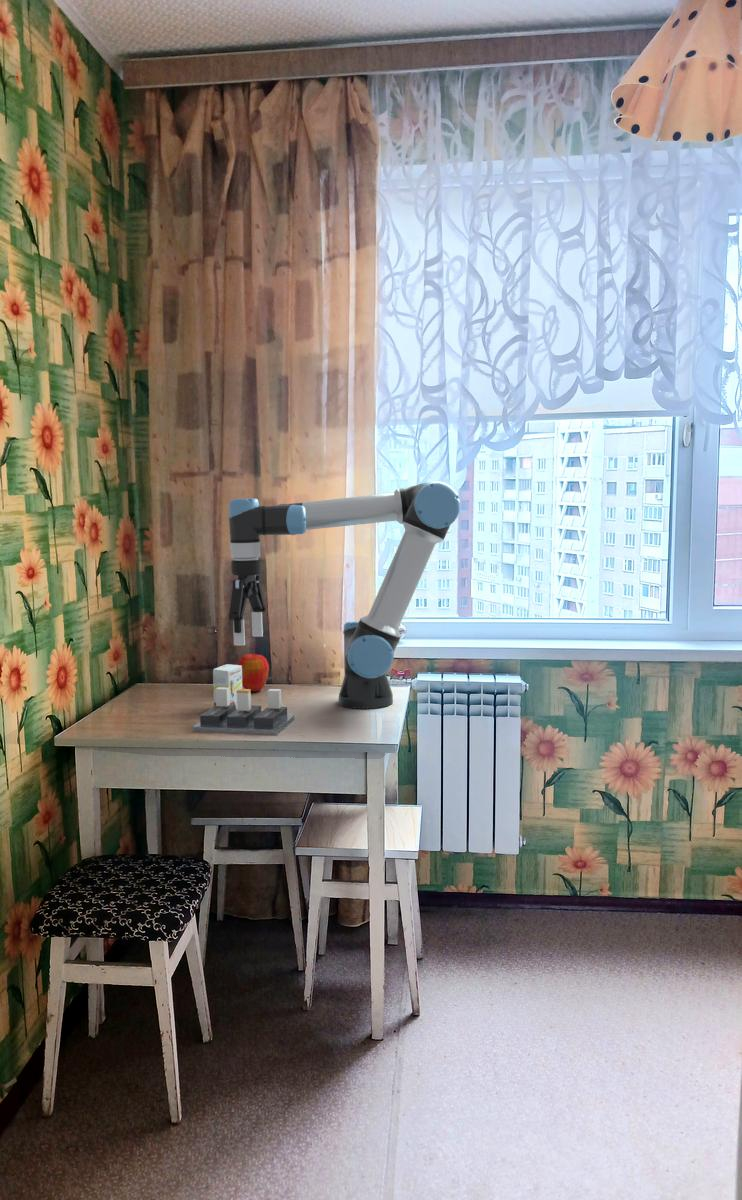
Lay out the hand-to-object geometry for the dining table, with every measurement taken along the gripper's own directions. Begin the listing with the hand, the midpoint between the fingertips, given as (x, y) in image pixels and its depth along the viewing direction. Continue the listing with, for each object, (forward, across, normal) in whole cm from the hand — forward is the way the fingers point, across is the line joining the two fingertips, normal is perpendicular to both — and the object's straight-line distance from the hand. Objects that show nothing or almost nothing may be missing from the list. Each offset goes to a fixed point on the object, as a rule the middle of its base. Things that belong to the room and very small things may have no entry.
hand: (248, 640), depth 237 cm
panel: (+21, +7, +1) cm, 22 cm away
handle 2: (+16, +3, +8) cm, 18 cm away
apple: (+21, -31, -10) cm, 39 cm away
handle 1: (+16, +3, -6) cm, 18 cm away
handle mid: (+17, +7, +1) cm, 18 cm away
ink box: (+21, -8, -10) cm, 24 cm away
